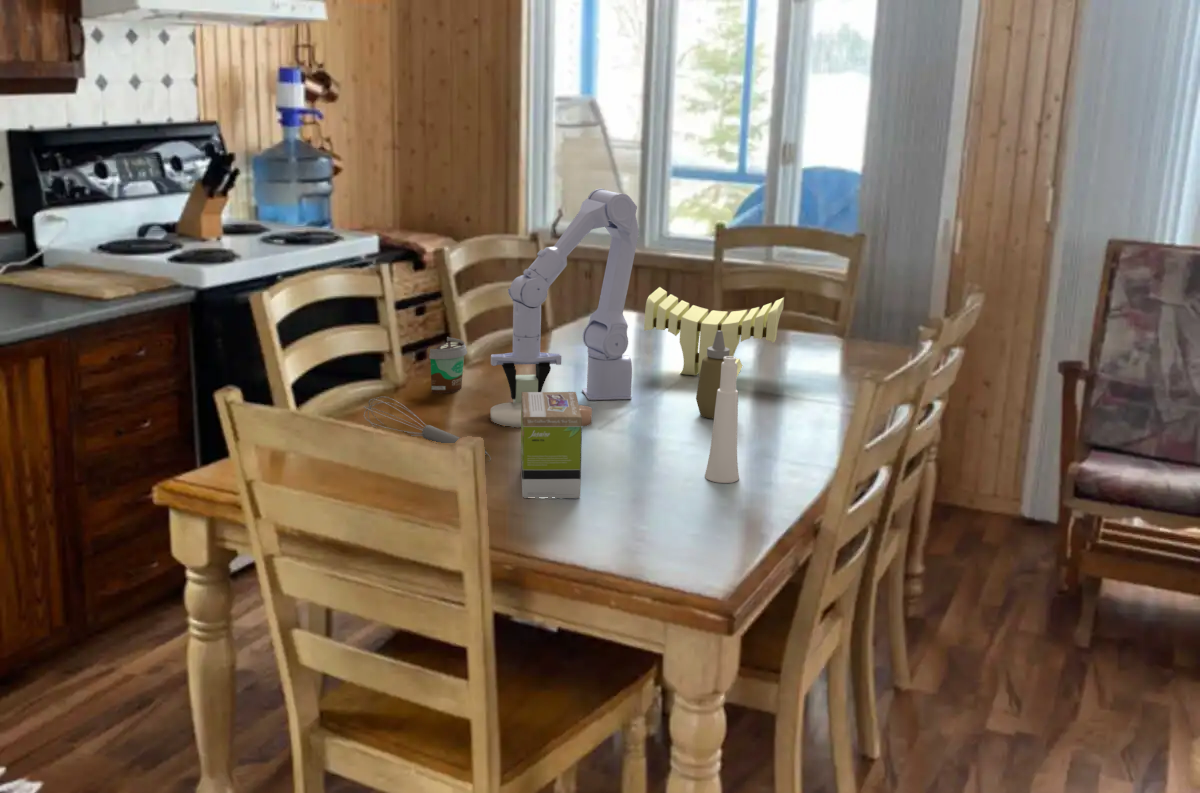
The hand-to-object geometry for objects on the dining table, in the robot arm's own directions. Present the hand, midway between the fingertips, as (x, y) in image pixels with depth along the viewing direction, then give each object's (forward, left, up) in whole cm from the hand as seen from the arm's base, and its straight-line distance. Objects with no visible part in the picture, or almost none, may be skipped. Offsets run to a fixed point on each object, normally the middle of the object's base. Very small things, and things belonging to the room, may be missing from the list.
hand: (525, 397), depth 253 cm
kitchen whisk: (+22, +22, -2) cm, 31 cm away
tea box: (+3, +48, -2) cm, 48 cm away
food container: (+14, -14, -2) cm, 20 cm away
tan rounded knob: (-9, +13, -2) cm, 16 cm away
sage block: (0, 0, -2) cm, 2 cm away
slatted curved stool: (-48, -24, -2) cm, 54 cm away
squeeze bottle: (-38, +11, -2) cm, 40 cm away
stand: (+3, +10, -2) cm, 11 cm away
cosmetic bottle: (-28, +48, -2) cm, 56 cm away
